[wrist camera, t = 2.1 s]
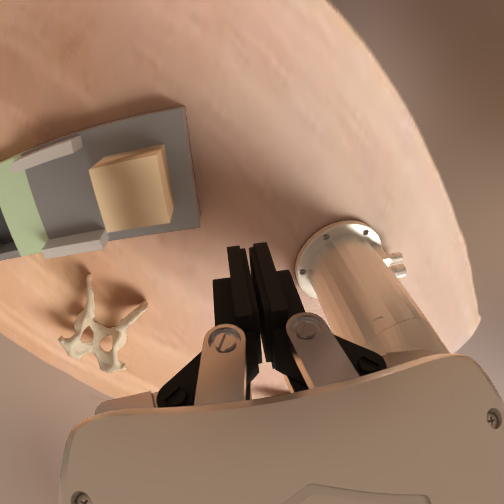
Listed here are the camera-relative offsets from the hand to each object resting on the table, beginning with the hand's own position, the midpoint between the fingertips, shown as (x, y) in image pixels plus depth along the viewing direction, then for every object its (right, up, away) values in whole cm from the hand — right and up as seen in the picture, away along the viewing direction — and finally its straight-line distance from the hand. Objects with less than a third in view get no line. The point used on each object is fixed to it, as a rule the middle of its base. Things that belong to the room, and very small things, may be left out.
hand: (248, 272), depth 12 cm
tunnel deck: (-21, +8, +14) cm, 27 cm away
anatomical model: (-21, -8, +25) cm, 34 cm away
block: (-10, +8, +12) cm, 18 cm away
